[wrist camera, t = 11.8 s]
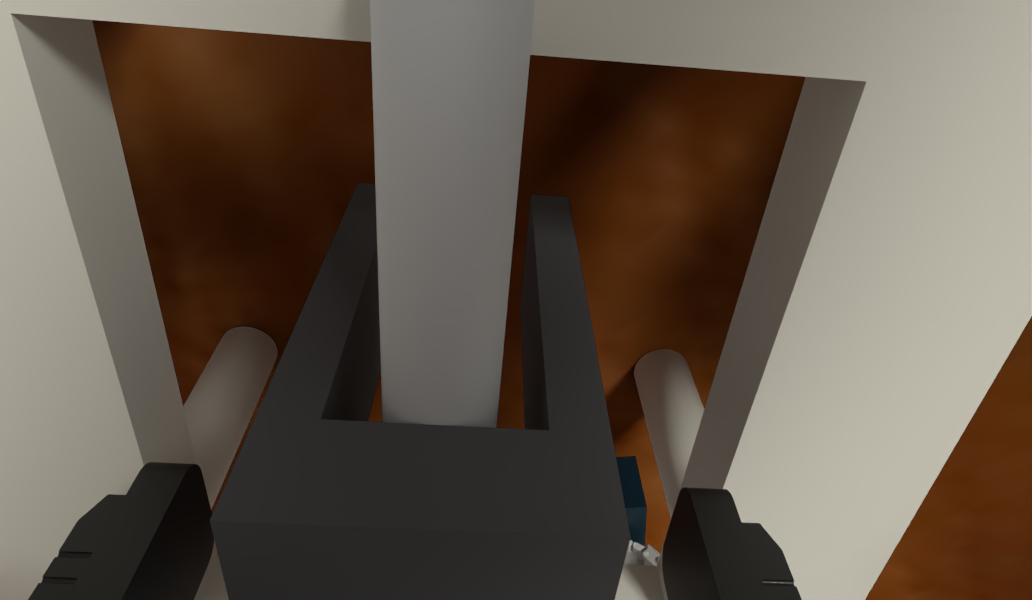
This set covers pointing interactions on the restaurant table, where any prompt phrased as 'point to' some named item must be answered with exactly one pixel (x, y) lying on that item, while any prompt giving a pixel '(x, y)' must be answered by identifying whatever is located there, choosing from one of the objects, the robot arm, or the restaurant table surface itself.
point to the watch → (635, 514)
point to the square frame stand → (489, 243)
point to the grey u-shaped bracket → (427, 454)
